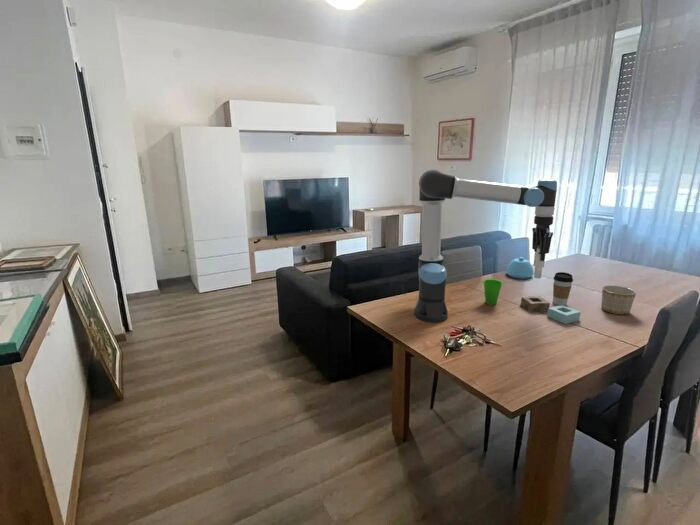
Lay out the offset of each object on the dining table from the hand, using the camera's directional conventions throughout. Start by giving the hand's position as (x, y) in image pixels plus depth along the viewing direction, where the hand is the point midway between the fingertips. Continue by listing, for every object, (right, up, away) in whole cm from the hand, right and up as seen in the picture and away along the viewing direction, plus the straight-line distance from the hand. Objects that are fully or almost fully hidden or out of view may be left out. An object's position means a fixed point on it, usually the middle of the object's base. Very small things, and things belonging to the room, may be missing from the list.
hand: (538, 266), depth 171 cm
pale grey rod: (0, -5, +1) cm, 5 cm away
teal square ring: (+9, -23, -4) cm, 25 cm away
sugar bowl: (+17, -7, +57) cm, 60 cm away
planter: (+37, -21, +3) cm, 43 cm away
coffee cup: (+17, -19, +13) cm, 28 cm away
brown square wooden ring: (+2, -20, +8) cm, 22 cm away
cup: (-16, -19, +15) cm, 29 cm away
